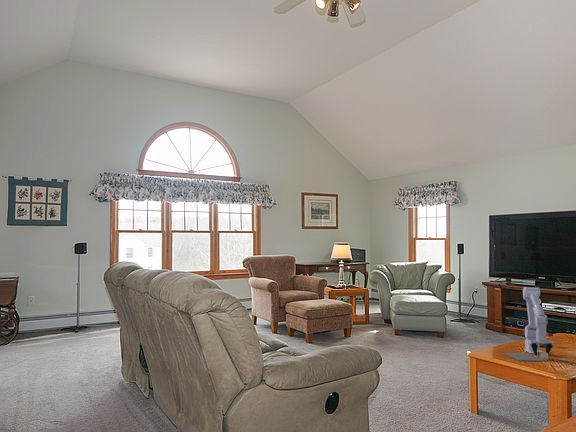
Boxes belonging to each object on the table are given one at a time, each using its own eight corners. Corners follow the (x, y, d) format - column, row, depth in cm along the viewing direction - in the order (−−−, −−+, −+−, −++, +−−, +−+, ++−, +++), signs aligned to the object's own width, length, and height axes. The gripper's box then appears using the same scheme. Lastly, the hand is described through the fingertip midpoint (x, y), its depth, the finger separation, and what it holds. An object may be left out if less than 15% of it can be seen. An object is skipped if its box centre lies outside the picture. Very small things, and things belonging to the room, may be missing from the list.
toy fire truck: (533, 345, 329) (533, 332, 330) (549, 345, 332) (549, 332, 332) (536, 347, 326) (536, 333, 327) (553, 346, 329) (553, 333, 329)
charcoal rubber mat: (504, 353, 303) (504, 352, 303) (527, 354, 303) (527, 353, 303) (517, 360, 285) (517, 359, 285) (543, 361, 285) (543, 360, 285)
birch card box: (534, 356, 298) (534, 350, 298) (541, 356, 298) (541, 350, 298) (541, 359, 290) (541, 353, 290) (548, 360, 290) (548, 353, 290)
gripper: (533, 335, 291) (533, 356, 290) (556, 335, 291) (556, 357, 290) (527, 332, 298) (527, 353, 297) (549, 333, 298) (549, 354, 297)
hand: (541, 355), depth 294 cm, fingers open, 7 cm apart
